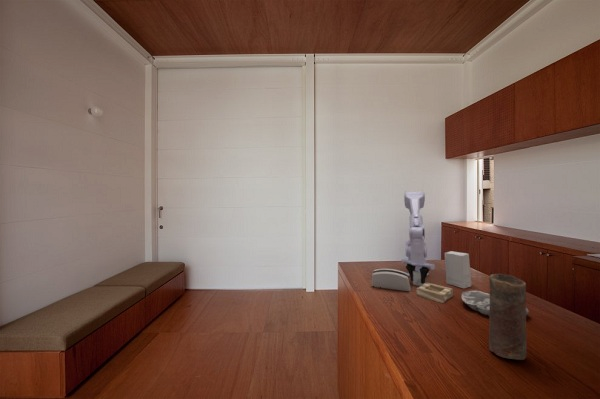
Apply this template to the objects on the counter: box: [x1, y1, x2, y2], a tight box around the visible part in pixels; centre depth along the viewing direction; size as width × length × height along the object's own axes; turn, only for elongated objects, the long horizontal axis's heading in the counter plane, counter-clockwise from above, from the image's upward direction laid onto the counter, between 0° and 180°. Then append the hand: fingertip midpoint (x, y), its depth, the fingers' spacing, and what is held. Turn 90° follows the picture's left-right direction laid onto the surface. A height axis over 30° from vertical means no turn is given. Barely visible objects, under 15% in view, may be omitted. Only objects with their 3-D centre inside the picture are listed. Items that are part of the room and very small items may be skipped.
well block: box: [416, 282, 454, 304], centre depth 100 cm, size 10×10×3 cm
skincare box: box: [444, 250, 472, 289], centre depth 111 cm, size 8×6×15 cm
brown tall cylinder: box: [488, 273, 527, 361], centre depth 63 cm, size 8×7×20 cm
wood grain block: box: [412, 270, 427, 287], centre depth 113 cm, size 4×4×6 cm
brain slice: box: [460, 290, 530, 317], centre depth 88 cm, size 20×17×3 cm
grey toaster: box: [371, 268, 412, 292], centre depth 110 cm, size 17×5×10 cm, turn 65°
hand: (417, 281), depth 112 cm, fingers closed on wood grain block, 4 cm apart
